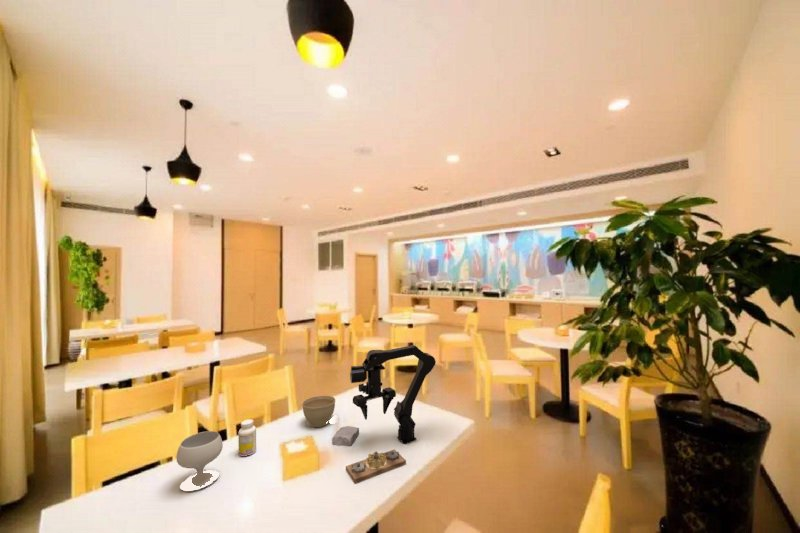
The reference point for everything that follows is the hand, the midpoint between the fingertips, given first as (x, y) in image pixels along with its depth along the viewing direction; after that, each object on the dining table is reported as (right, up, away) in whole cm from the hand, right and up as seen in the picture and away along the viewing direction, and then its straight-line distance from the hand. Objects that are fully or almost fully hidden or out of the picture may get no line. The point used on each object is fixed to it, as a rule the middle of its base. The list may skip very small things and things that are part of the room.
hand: (375, 416), depth 132 cm
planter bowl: (-30, -14, +20) cm, 39 cm away
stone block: (-14, -13, +5) cm, 20 cm away
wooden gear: (+2, -9, -16) cm, 19 cm away
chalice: (-61, -13, -22) cm, 67 cm away
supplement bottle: (-53, -13, -5) cm, 55 cm away
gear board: (+2, -11, -17) cm, 20 cm away
